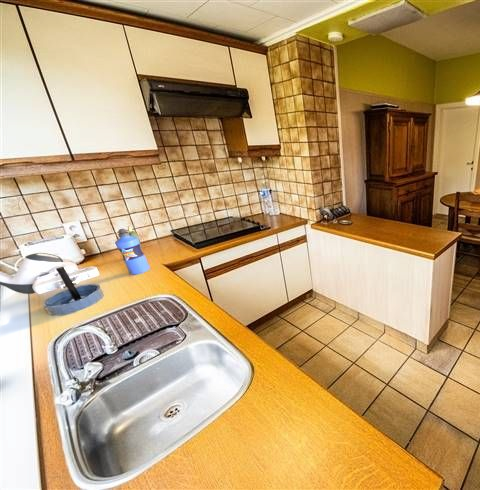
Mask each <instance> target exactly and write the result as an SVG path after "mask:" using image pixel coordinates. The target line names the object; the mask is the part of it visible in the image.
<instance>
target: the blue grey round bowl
mask: <svg viewBox="0 0 480 490" xmlns="http://www.w3.org/2000/svg"><path fill="white" fill-rule="evenodd" d="M75 288H76V289H77V291H78V293H79V295H80V296H86V297H84V298H82V299H80V300H77V301H74V302H71V303H69V302H70V301H71V300H72V299H74V298H73V297H72V295H71V293H70V292H69V290H68V289H65V290H63V291H60V292H58V293H56V294H53V295H52V296H50V297H48V298H47V299H46V300H45V301H44V302H43V303H42V305H43V308H44V309H45V311H46V312H47V314H48V315H49V316H53V317H58V316H65V315H69V314H73V313H76V312H79V311H83V310H84V309H87V308H89V307H91V306H94V305H95V304H97V303H98V302H100V301H101V300H102V299H103V297H105V294H104V292H103V290H102V288H101V286H100V285H99V284H96V283H90V284H83V285H79V286H75Z"/></svg>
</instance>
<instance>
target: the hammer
mask: <svg viewBox="0 0 480 490" xmlns="http://www.w3.org/2000/svg"><path fill="white" fill-rule="evenodd" d="M56 270H57V272H58V273H59V275H60V277H61V278H62V280H63V282H64V283H65V285H66V288H67V290H69V292H70V293H71V295H72V297H73V298H74V299H72V300H71V301H70V302H69V303H71V302H74V301H77V300H80V299H82V298H84V297H86V296H80V295H79V293H78V291H77V289H76V288H75V287H76V286H75V285H73V283H72V281H71V279H70V277H69V276H68V274H67V272H66V271H65V269H64V267H59V268H57V269H56Z"/></svg>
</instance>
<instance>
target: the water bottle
mask: <svg viewBox="0 0 480 490" xmlns="http://www.w3.org/2000/svg"><path fill="white" fill-rule="evenodd" d="M117 233H118V234H117V235H118V239H117V240H115V241H114V244H115V246H116V248H117V249H118V251H119V253H121V255H122V259H123V262H124V264H125V266H126V269H127V270H128V272H129V274H130V275H131V276H135V275H140V274H143V273H146V272H148V271H150V269H151V267H150V264H149V262H148V260H147V257H146V255H145V253H144V251H143V249H142V250H141V248H140V244H141V243H140V244H139V240H140V239H139V240H138V238H137V237H135V236H129V231H128V229H126V228H119V230H118V231H117Z"/></svg>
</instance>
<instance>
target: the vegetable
mask: <svg viewBox="0 0 480 490" xmlns="http://www.w3.org/2000/svg"><path fill="white" fill-rule="evenodd" d="M127 232H128V233H129V236H135V237H137V238H138V240H139V244H140V248H141V250H142V251H143V246H142V244H141V240H140V236H139V235H138V233H137V232H136V231H134V230H133V229H132V228H131V226H130V225H129V226H127Z"/></svg>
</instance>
